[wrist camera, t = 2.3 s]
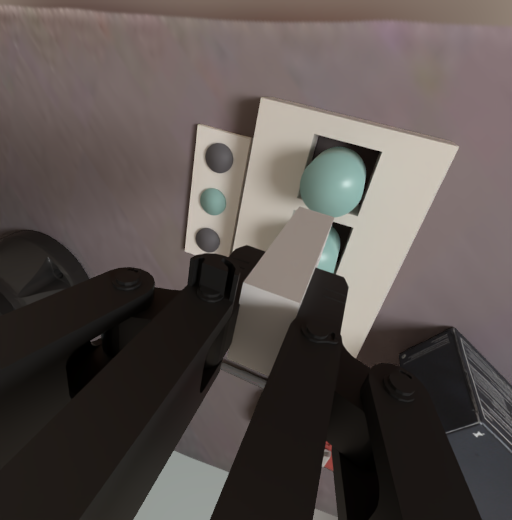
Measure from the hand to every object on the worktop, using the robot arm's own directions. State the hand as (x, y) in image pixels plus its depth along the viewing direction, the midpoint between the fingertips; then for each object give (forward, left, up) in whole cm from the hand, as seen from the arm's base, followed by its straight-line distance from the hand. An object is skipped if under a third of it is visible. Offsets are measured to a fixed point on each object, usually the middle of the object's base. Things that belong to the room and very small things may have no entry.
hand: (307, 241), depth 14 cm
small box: (+17, -16, -16) cm, 28 cm away
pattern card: (-11, -6, -16) cm, 20 cm away
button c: (0, 0, -14) cm, 14 cm away
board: (0, -6, -16) cm, 17 cm away
